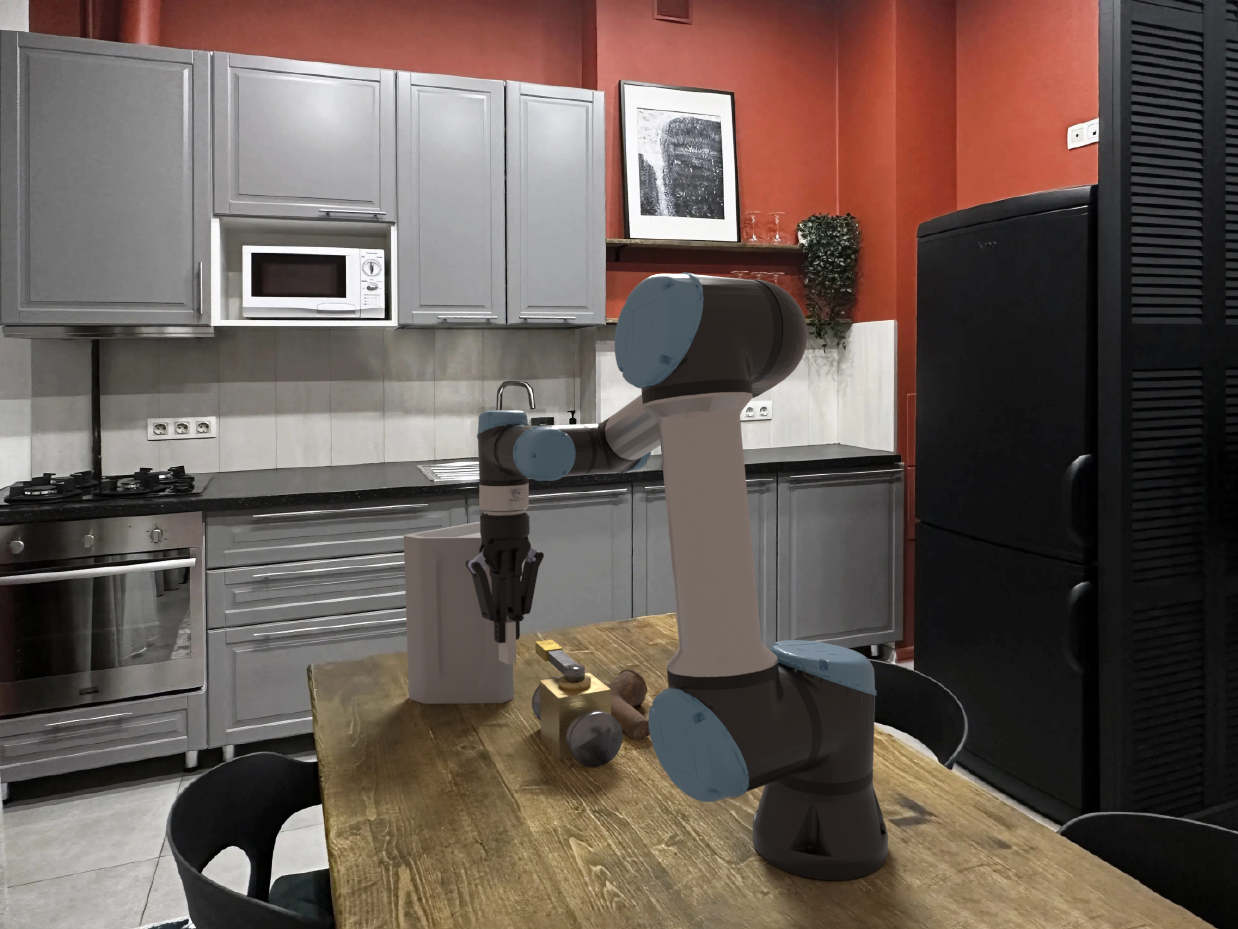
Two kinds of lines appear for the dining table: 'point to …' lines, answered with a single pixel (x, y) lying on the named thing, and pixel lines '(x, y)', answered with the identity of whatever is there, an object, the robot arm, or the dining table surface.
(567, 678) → the lever
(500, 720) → the dining table surface
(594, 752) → the valve body
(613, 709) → the pipe
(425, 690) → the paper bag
